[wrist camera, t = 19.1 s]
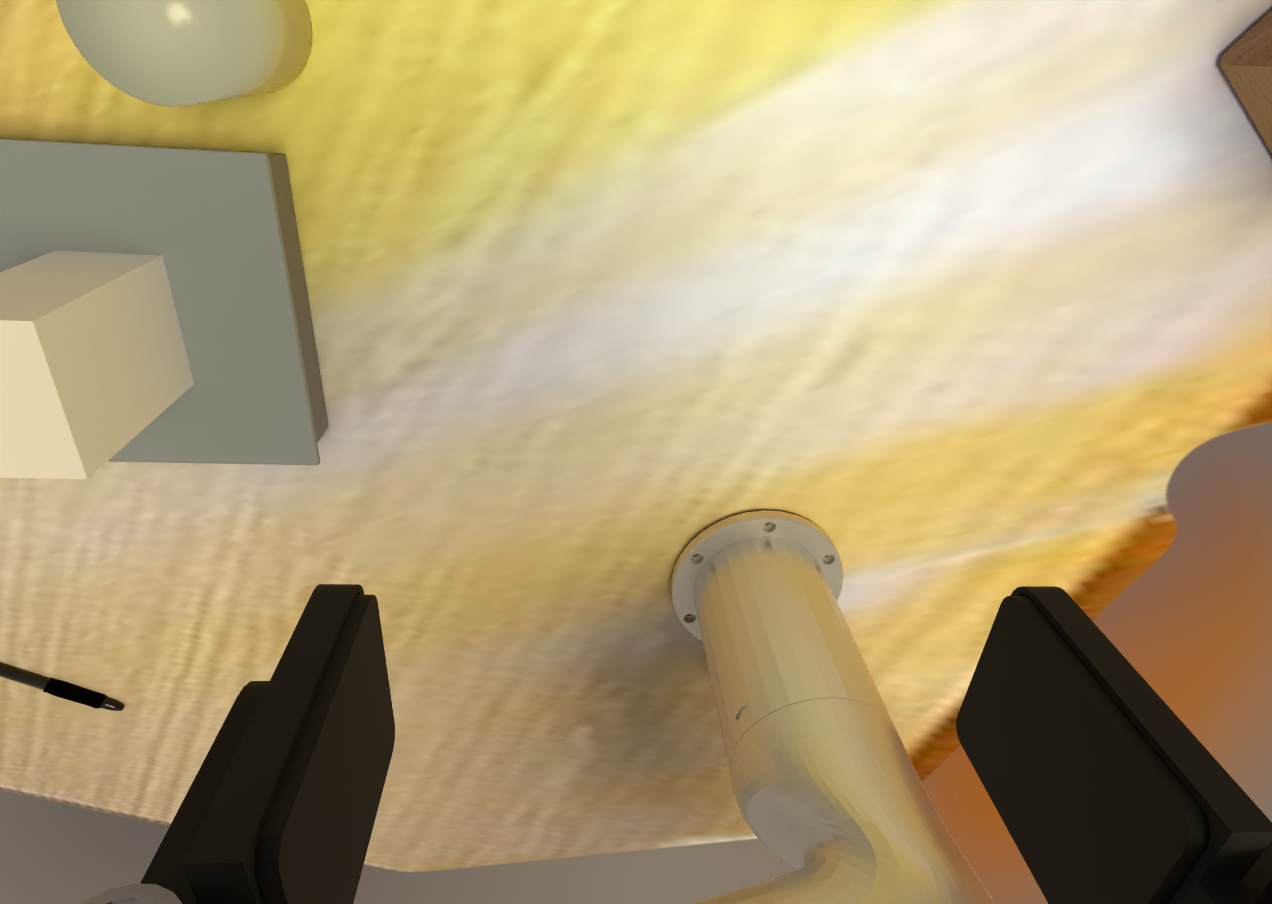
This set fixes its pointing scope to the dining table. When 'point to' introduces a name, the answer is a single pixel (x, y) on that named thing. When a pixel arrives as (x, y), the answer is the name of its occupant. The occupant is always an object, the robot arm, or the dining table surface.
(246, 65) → the grey cylinder
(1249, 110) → the decorative block
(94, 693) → the pen
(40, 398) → the carton
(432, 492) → the dining table surface
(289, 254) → the podium
